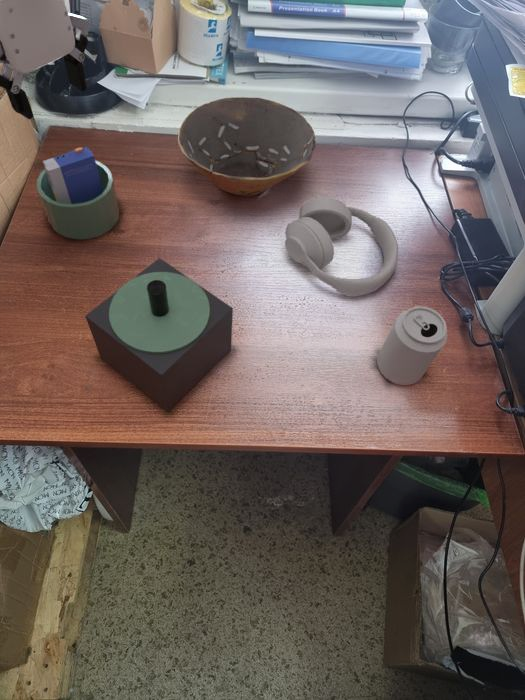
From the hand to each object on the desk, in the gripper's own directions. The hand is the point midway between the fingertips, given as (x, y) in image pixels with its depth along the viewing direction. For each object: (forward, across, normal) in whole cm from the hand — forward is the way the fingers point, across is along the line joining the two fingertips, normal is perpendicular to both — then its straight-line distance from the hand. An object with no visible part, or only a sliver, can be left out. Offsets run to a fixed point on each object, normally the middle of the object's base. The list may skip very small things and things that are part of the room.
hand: (52, 100), depth 73 cm
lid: (+11, +12, +32) cm, 36 cm away
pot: (+22, 0, 0) cm, 22 cm away
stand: (+22, +12, +32) cm, 40 cm away
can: (+22, -10, +61) cm, 65 cm away
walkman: (+22, 0, 0) cm, 22 cm away
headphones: (+22, -23, +41) cm, 52 cm away
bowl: (+22, -28, +15) cm, 39 cm away
